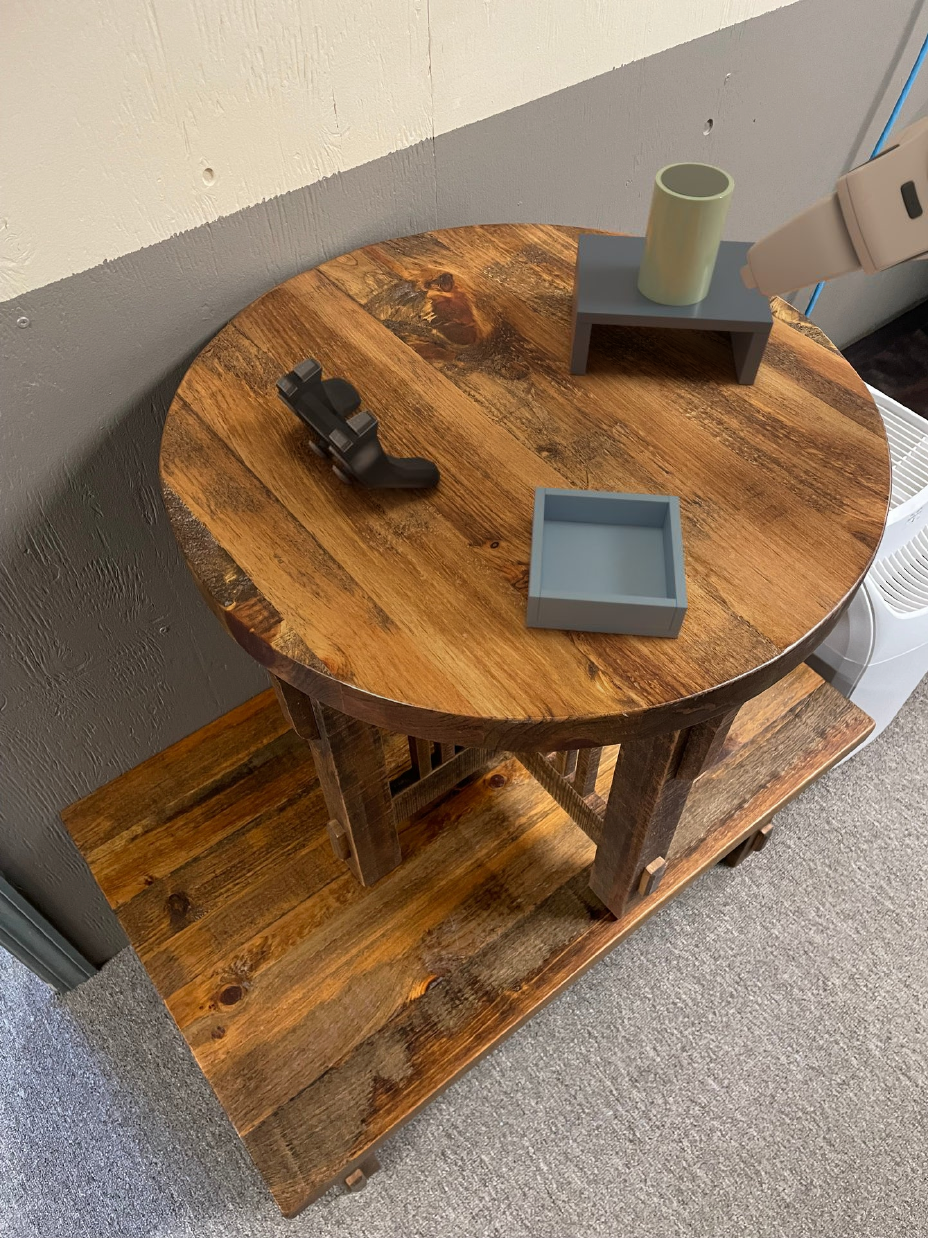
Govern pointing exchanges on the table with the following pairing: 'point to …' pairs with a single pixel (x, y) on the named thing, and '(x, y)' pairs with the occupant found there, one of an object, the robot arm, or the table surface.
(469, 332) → the table surface
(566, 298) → the table surface
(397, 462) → the game controller
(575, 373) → the shelf
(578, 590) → the open bin
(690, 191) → the cup
